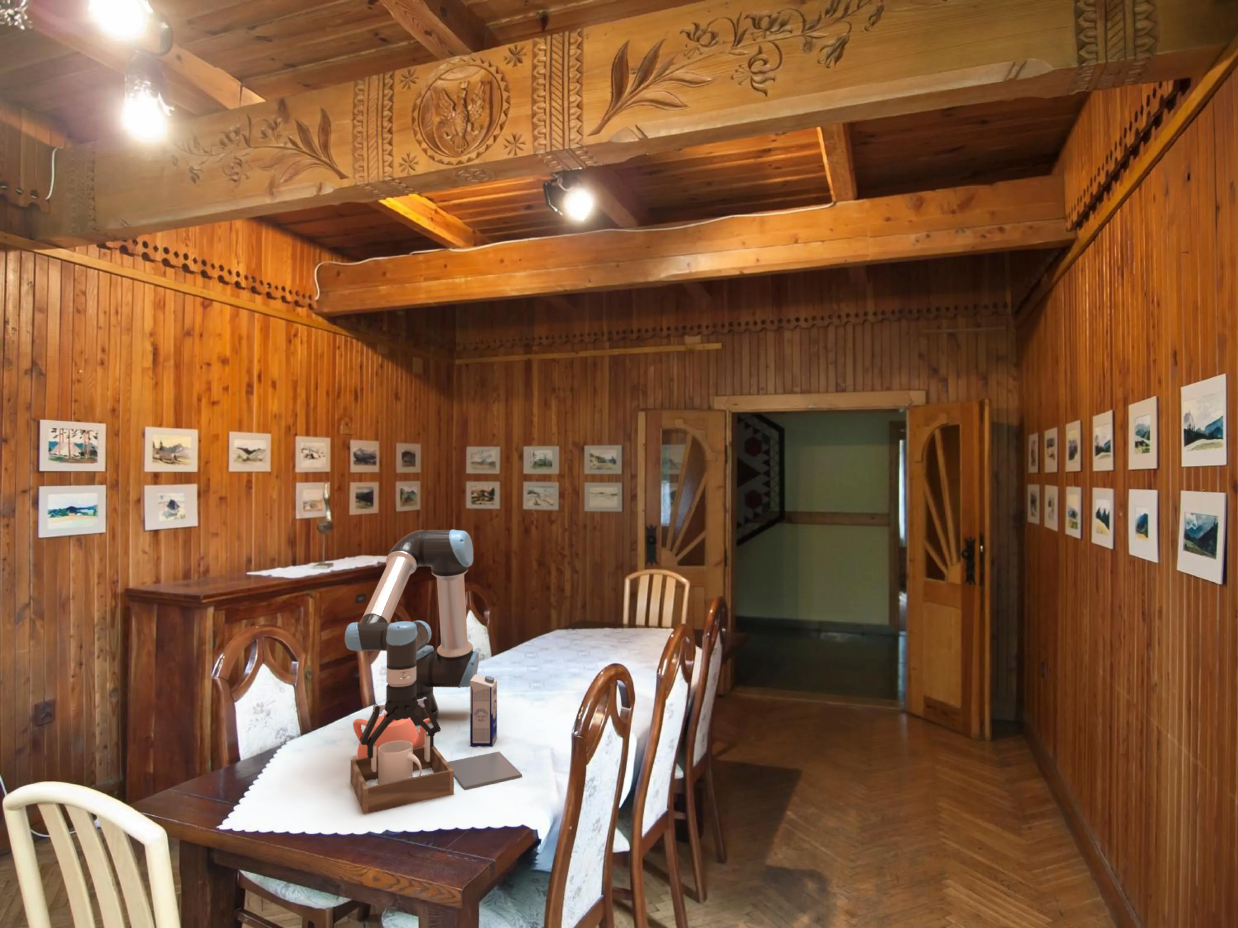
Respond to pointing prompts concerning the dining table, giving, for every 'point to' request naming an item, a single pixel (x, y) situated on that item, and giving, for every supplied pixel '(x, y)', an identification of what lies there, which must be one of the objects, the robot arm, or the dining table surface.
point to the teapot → (392, 733)
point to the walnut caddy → (402, 783)
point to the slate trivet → (483, 770)
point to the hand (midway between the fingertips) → (400, 764)
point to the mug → (396, 761)
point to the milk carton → (483, 711)
